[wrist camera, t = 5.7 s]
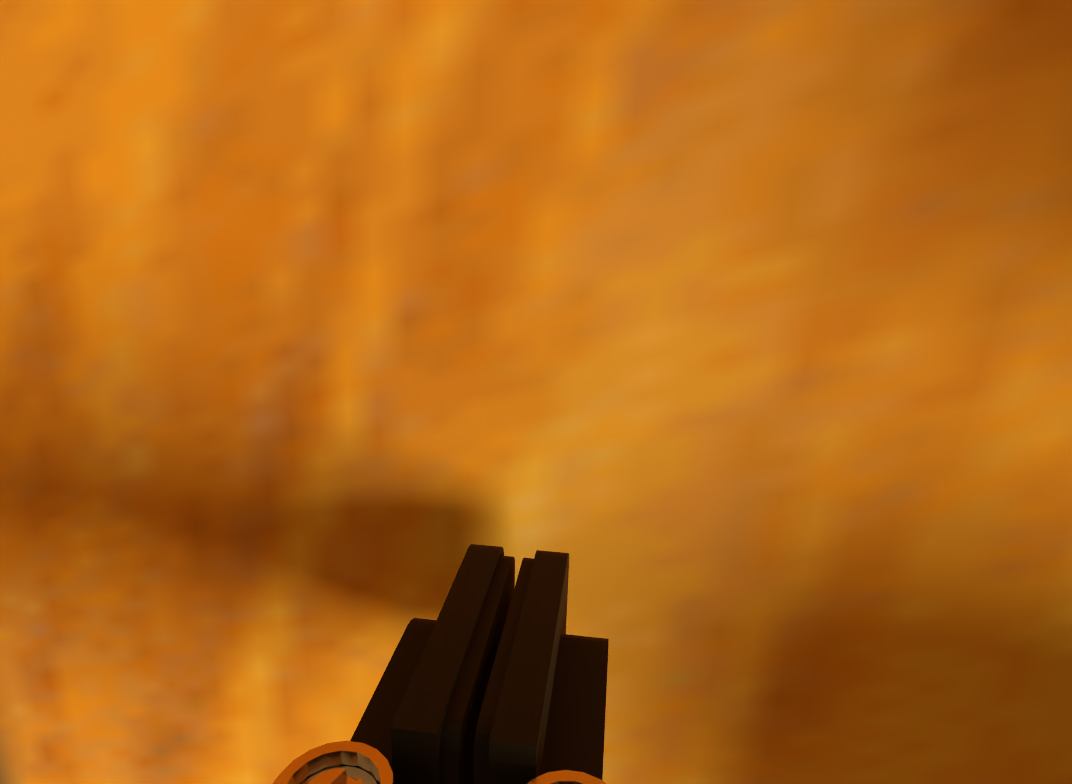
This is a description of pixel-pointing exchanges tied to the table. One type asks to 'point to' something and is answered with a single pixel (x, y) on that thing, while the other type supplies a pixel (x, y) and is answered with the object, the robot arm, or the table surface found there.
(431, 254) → the table surface
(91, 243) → the table surface
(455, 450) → the table surface
